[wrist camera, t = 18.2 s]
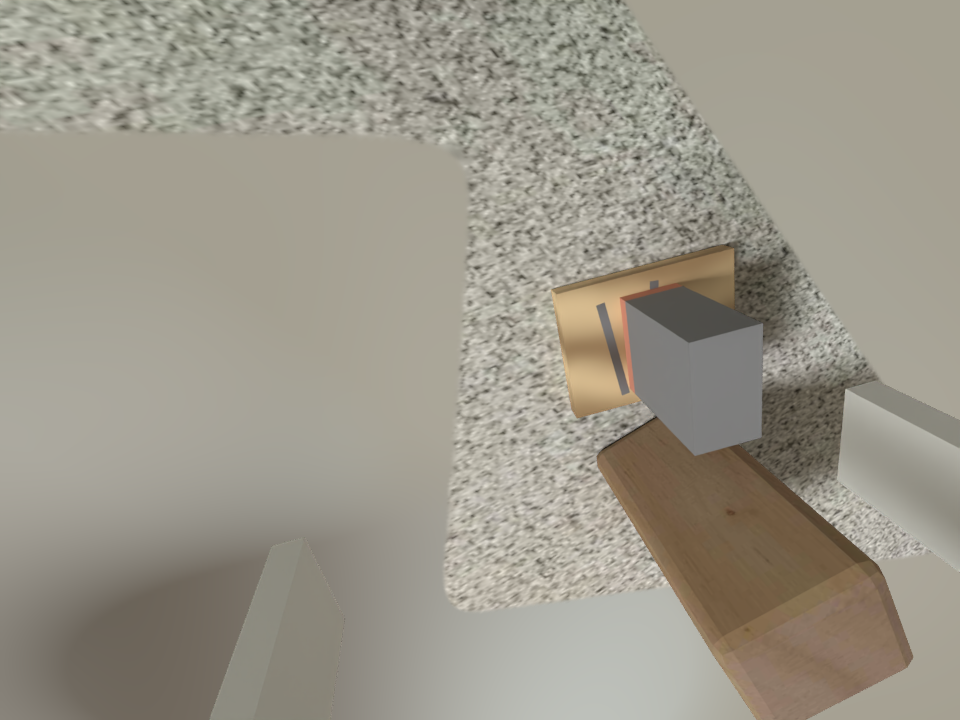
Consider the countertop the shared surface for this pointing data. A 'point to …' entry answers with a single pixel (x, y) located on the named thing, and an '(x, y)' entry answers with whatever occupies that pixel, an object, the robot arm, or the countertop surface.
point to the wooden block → (759, 574)
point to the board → (599, 329)
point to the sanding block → (695, 366)
